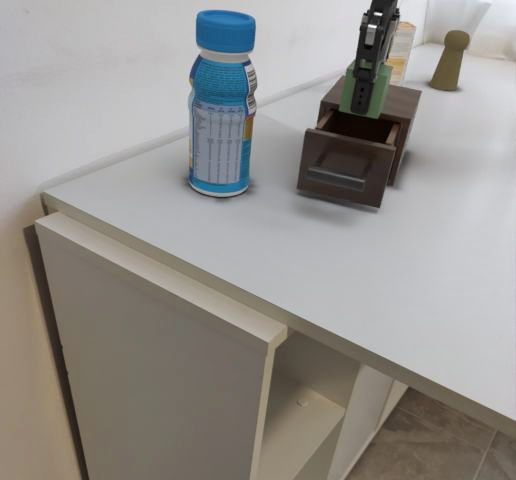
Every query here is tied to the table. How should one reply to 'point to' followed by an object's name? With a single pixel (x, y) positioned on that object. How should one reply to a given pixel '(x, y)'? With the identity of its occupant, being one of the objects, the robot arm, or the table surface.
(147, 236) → the table surface
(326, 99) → the cabinet
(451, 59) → the olive pawn
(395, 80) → the supplement box
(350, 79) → the block
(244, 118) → the beverage bottle
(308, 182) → the drawer
